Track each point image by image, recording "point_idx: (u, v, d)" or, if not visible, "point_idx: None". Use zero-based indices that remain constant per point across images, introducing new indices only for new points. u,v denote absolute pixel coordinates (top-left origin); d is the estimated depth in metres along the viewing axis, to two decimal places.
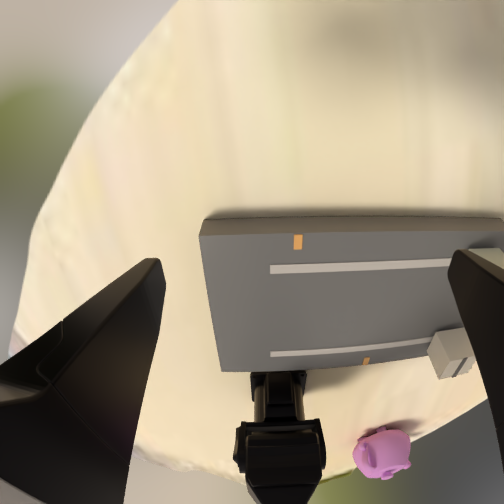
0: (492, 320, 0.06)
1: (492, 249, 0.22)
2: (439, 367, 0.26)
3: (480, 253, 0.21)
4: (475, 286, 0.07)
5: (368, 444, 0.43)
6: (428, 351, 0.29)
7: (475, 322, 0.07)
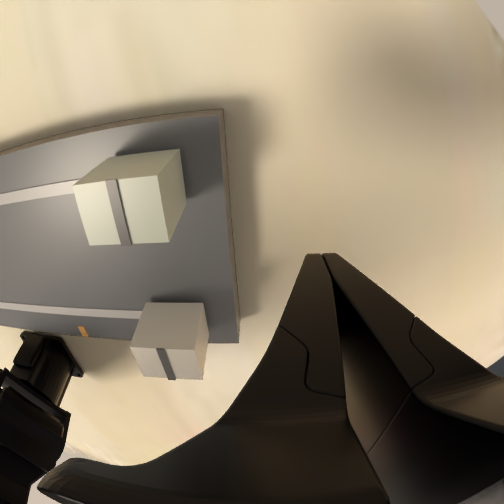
0: (343, 341, 0.07)
1: (157, 152, 0.15)
2: None
3: (118, 159, 0.14)
4: None
5: None
6: None
7: None
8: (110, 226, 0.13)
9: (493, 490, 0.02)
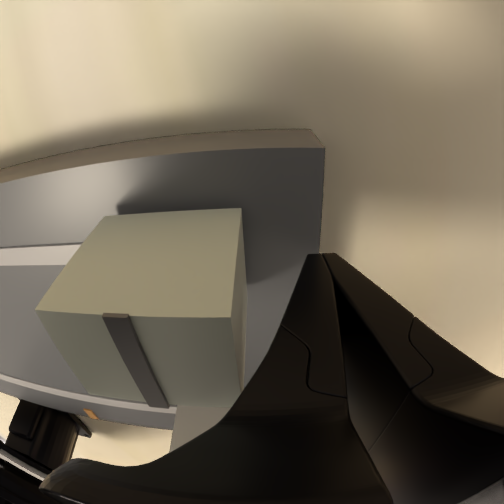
0: (342, 341, 0.07)
1: (198, 213, 0.08)
2: None
3: (122, 227, 0.08)
4: None
5: None
6: None
7: None
8: (124, 380, 0.06)
9: (492, 491, 0.02)
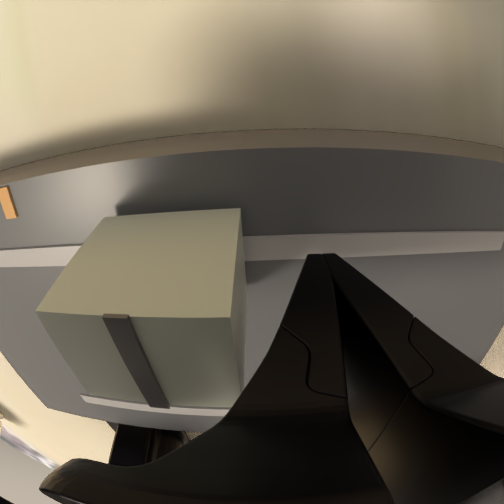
0: (342, 341, 0.07)
1: (197, 214, 0.08)
2: None
3: (122, 228, 0.08)
4: None
5: None
6: None
7: None
8: (125, 381, 0.06)
9: (492, 491, 0.02)
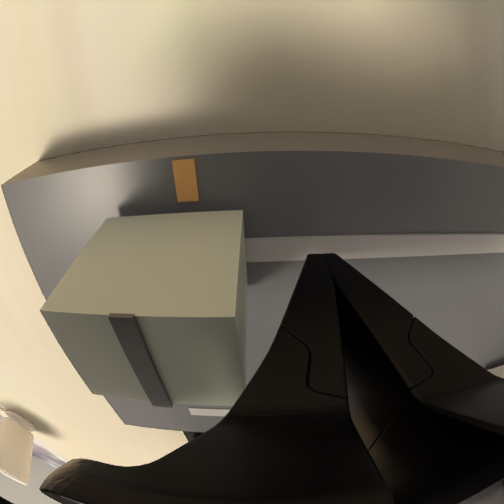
0: (342, 341, 0.07)
1: (200, 215, 0.08)
2: None
3: (126, 228, 0.08)
4: None
5: None
6: None
7: None
8: (128, 380, 0.06)
9: (492, 492, 0.02)
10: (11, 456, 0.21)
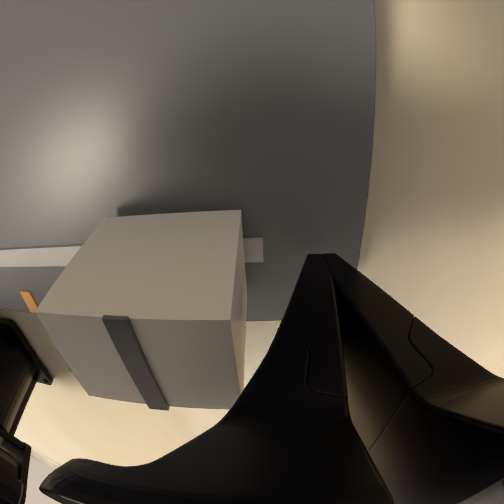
0: (342, 341, 0.07)
1: None
2: None
3: None
4: None
5: None
6: None
7: None
8: None
9: (491, 491, 0.02)
10: None
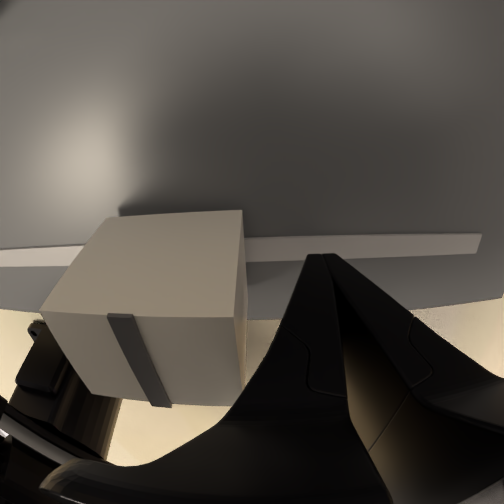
0: (342, 341, 0.07)
1: None
2: None
3: None
4: None
5: None
6: None
7: None
8: None
9: (492, 492, 0.02)
10: None
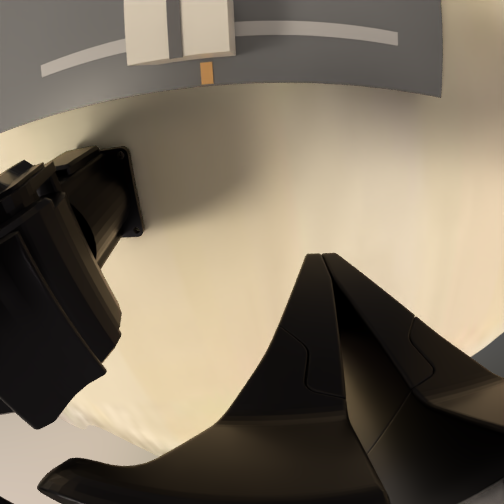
0: (343, 341, 0.07)
1: None
2: None
3: None
4: None
5: None
6: None
7: None
8: None
9: (493, 490, 0.02)
10: None
